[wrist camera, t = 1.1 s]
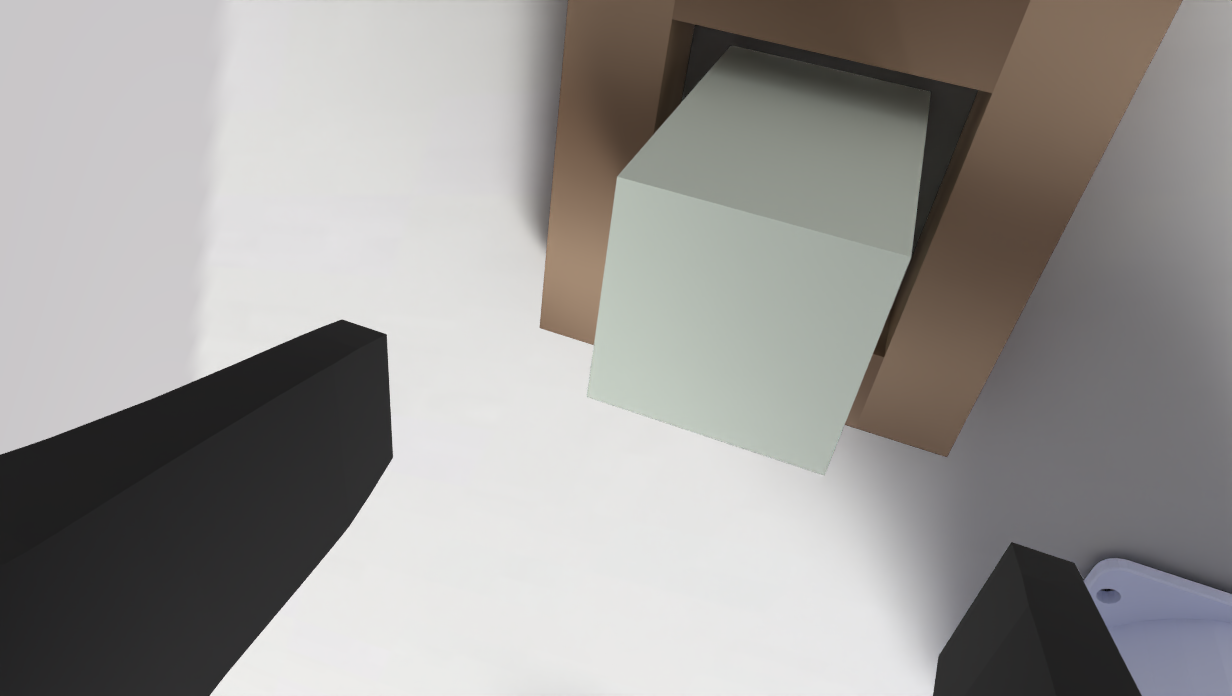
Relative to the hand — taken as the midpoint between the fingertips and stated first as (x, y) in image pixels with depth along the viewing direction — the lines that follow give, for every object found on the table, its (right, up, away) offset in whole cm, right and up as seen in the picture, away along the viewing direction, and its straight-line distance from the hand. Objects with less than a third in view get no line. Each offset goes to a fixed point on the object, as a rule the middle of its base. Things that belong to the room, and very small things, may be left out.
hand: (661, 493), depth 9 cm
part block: (+3, +6, +8) cm, 10 cm away
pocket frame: (+3, +6, +8) cm, 10 cm away
